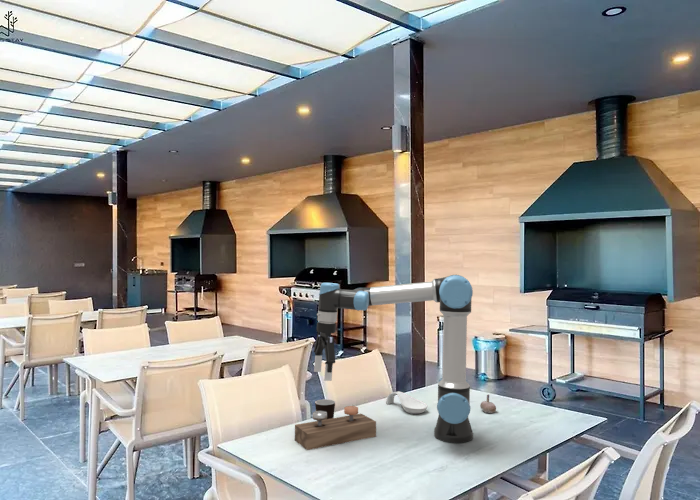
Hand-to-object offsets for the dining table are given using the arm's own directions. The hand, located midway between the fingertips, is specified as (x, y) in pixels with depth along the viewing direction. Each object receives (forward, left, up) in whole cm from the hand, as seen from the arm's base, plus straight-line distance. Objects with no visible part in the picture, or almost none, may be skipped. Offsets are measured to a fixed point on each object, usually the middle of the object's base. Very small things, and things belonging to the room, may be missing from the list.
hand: (322, 376), depth 202 cm
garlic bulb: (-4, -83, -25) cm, 87 cm away
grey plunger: (-1, +2, -22) cm, 22 cm away
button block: (-1, -5, -25) cm, 26 cm away
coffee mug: (+16, -9, -25) cm, 31 cm away
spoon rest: (+18, -52, -25) cm, 61 cm away
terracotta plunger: (-1, -12, -22) cm, 25 cm away
